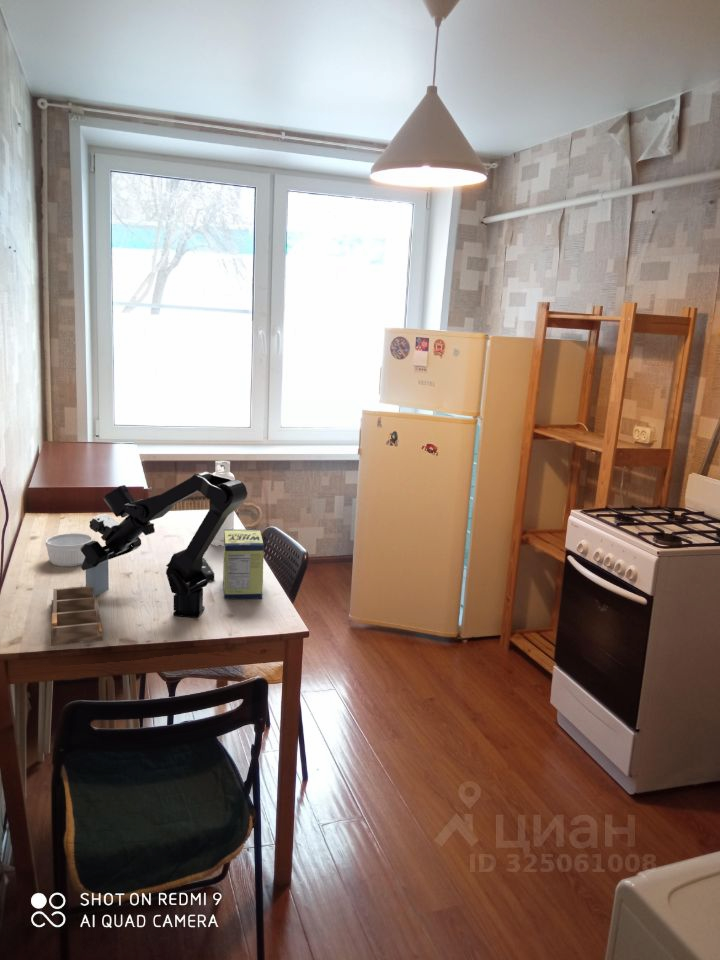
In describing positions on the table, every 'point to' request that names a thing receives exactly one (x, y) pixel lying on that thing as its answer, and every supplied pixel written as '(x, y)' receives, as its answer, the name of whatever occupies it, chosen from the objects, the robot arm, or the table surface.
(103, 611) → the table surface
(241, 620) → the table surface
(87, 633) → the rack
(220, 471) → the bottle
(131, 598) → the table surface
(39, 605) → the table surface
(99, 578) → the blanking panel
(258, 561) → the protein box
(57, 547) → the ramekin
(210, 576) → the disk drive
